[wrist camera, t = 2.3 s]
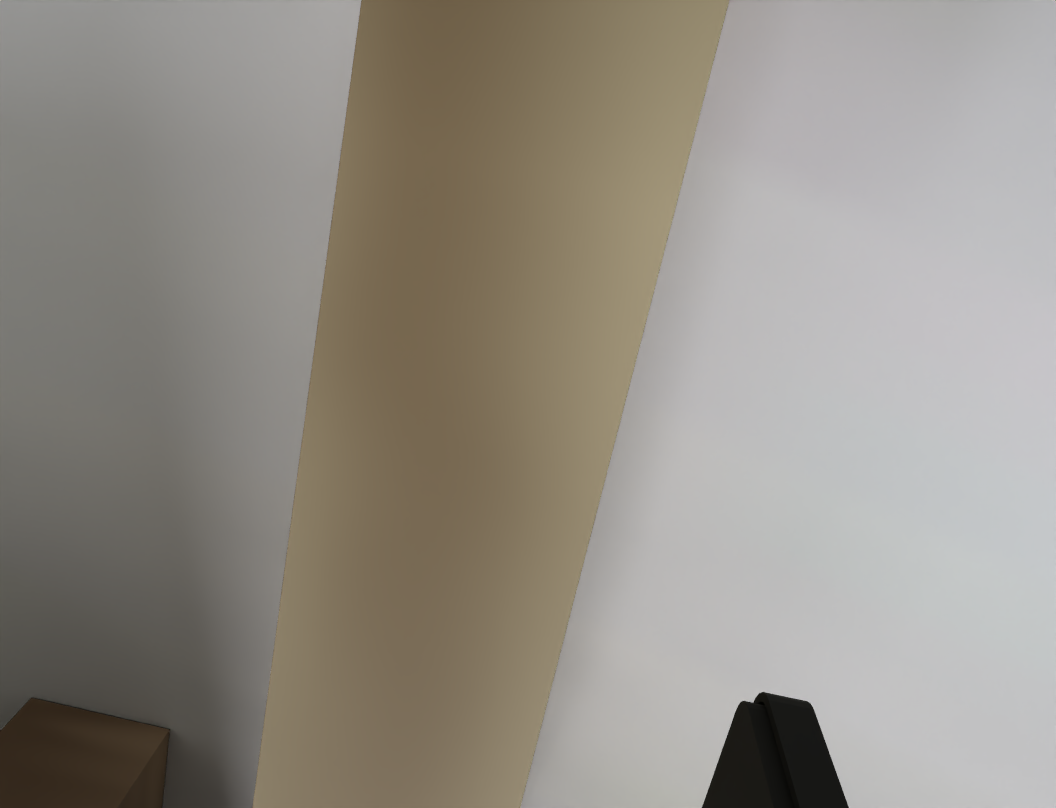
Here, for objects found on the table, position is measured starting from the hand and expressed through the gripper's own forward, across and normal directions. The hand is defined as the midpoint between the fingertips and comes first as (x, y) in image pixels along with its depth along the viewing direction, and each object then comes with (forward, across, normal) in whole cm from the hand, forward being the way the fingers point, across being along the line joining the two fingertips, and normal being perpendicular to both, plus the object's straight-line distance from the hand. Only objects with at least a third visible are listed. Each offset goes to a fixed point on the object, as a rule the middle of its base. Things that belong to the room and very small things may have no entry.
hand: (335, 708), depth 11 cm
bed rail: (+7, -1, 0) cm, 7 cm away
